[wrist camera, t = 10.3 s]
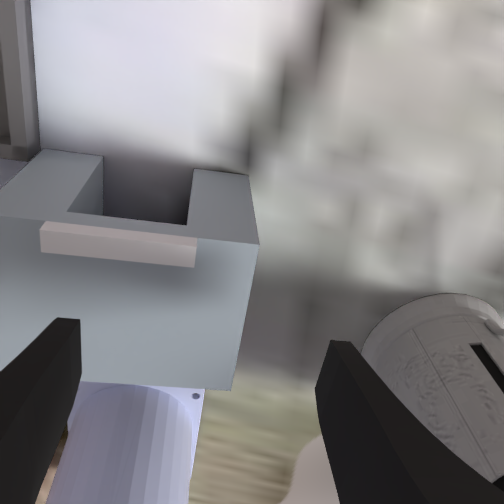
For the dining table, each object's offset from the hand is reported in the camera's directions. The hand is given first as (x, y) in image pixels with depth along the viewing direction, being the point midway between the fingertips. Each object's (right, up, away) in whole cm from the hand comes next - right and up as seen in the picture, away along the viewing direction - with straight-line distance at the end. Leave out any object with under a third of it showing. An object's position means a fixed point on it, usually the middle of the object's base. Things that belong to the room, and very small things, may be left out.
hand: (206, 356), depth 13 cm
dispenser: (-4, +4, +9) cm, 10 cm away
